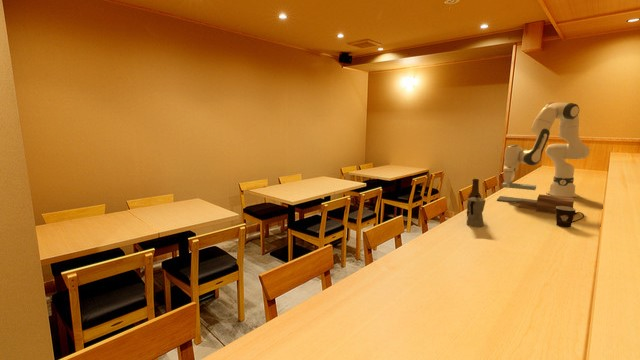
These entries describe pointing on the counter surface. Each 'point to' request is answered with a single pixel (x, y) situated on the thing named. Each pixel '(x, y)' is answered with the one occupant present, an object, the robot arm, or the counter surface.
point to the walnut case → (547, 203)
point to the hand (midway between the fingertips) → (508, 186)
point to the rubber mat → (513, 199)
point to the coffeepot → (475, 211)
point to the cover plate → (520, 186)
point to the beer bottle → (474, 192)
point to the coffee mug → (565, 216)
